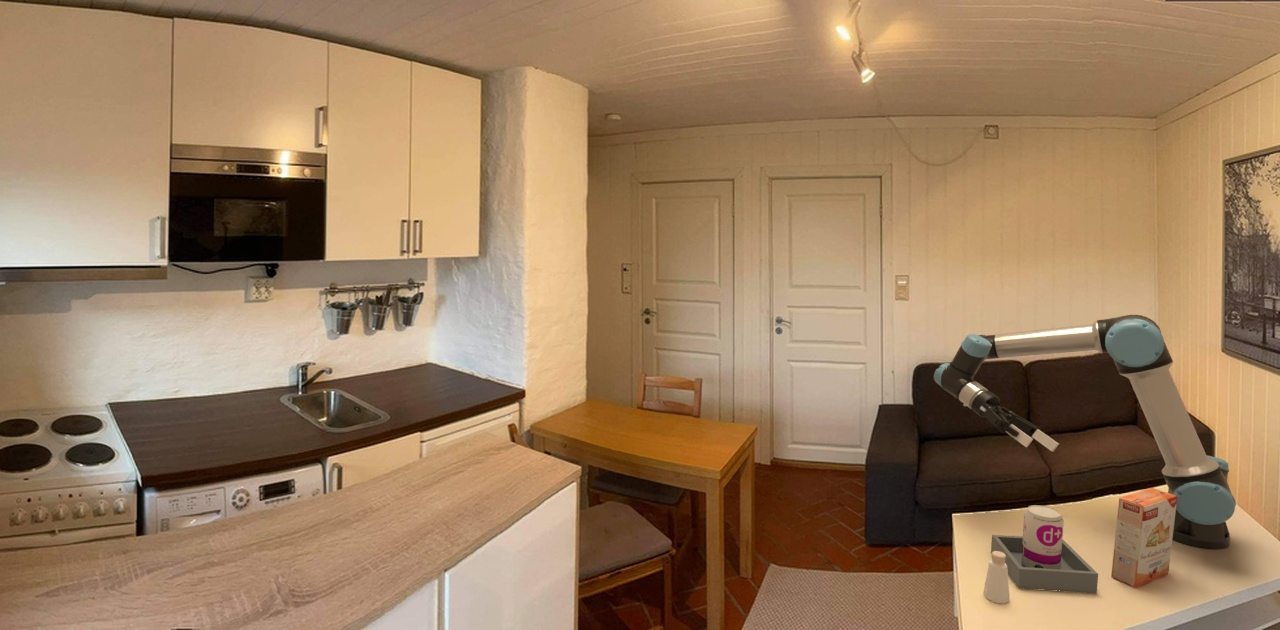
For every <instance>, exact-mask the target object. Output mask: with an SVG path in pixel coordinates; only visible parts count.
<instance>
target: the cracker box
mask: <svg viewBox="0 0 1280 630" xmlns="http://www.w3.org/2000/svg"><path fill="white" fill-rule="evenodd" d="M1176 504H1177V496H1176V495H1173V494H1170V493H1168V492H1167V491H1163V490H1160V489H1156V488H1154V487H1150V488H1147V489H1143V490H1139V491H1137V492H1134V493H1131V494H1128V495H1124V496H1120V497H1119V498H1118V507H1117V515H1116V526H1115V527H1116V528H1115V536H1114V545H1113V553H1112V555H1113V556H1112V565H1111V566H1112V567H1111V578H1114V579H1116V580H1118V581H1120V582H1122V583H1125V584H1127V585H1128V586H1131V587H1134V588H1138V587H1140V586H1143V585H1145V584H1147V583H1150V582H1153V581H1154V580H1157V579H1159V578H1163V577H1165V576H1167V575H1169V571H1170V560H1171V554H1172V545H1173V539H1172V538H1173V529H1174V521H1175V513H1176Z"/></svg>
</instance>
